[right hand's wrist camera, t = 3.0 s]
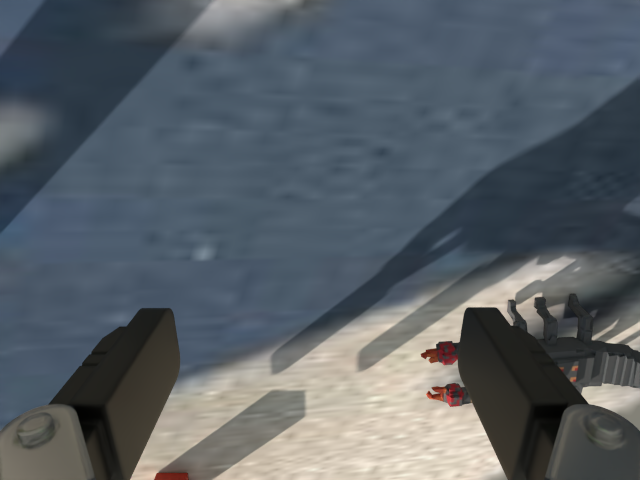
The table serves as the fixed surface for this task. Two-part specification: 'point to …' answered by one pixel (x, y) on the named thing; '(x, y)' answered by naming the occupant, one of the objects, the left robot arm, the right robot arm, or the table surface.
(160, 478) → the block
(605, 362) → the toy
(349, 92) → the table surface
